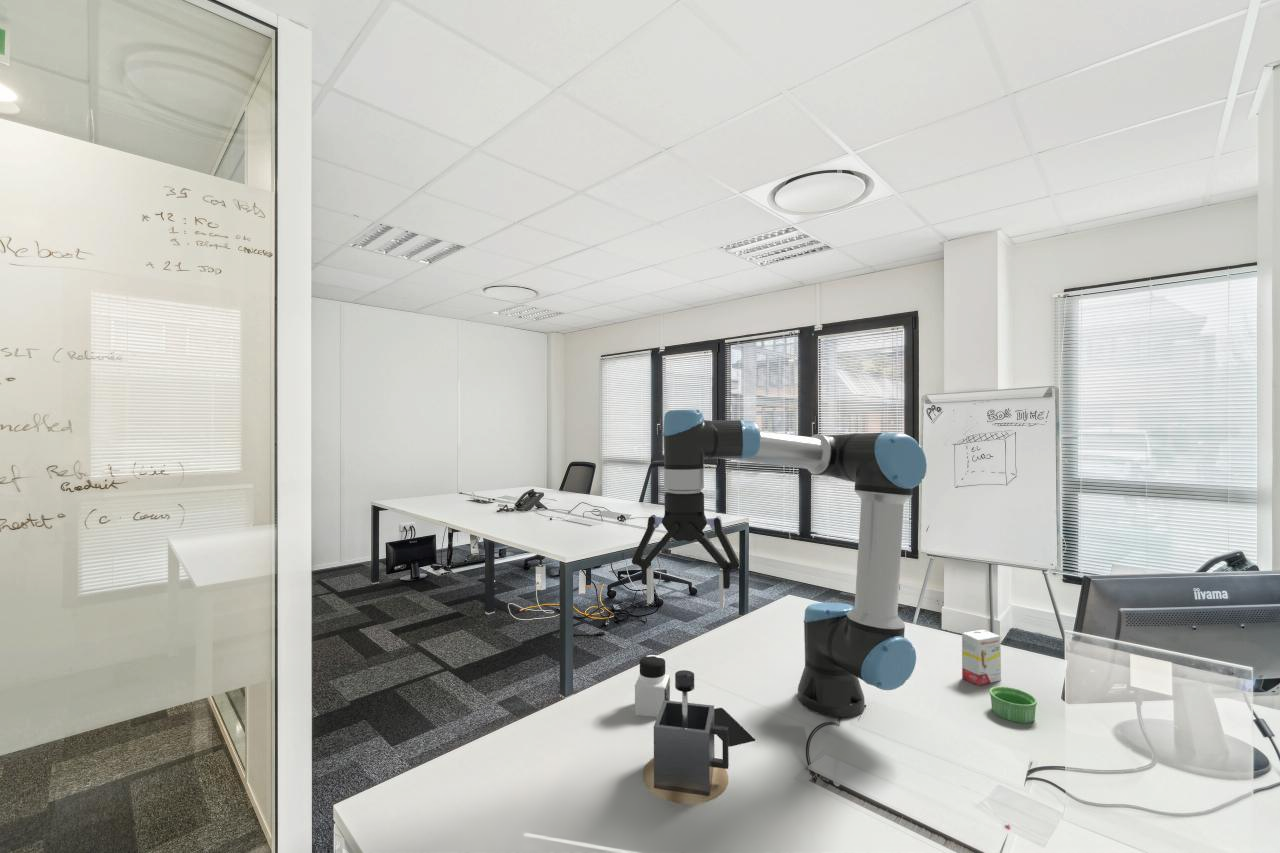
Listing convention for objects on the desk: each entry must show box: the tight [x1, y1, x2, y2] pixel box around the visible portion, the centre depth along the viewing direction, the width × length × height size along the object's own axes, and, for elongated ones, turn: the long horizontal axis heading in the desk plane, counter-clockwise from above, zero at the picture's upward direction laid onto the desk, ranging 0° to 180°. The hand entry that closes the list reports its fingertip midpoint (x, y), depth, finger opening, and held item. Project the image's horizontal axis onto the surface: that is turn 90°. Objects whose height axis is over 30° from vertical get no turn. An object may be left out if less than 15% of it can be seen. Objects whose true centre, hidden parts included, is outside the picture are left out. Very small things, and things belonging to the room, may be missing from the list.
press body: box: [653, 700, 730, 796], centre depth 100 cm, size 13×10×11 cm
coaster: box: [642, 757, 730, 805], centre depth 100 cm, size 16×16×1 cm
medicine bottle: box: [634, 654, 671, 718], centre depth 125 cm, size 7×7×12 cm
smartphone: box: [714, 707, 756, 748], centre depth 117 cm, size 7×1×15 cm
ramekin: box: [988, 686, 1038, 724], centre depth 123 cm, size 9×9×4 cm
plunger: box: [674, 669, 695, 728], centre depth 100 cm, size 7×7×17 cm
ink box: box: [961, 629, 1002, 686], centre depth 140 cm, size 9×5×12 cm, turn 110°
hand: (685, 603), depth 101 cm, fingers open, 13 cm apart
